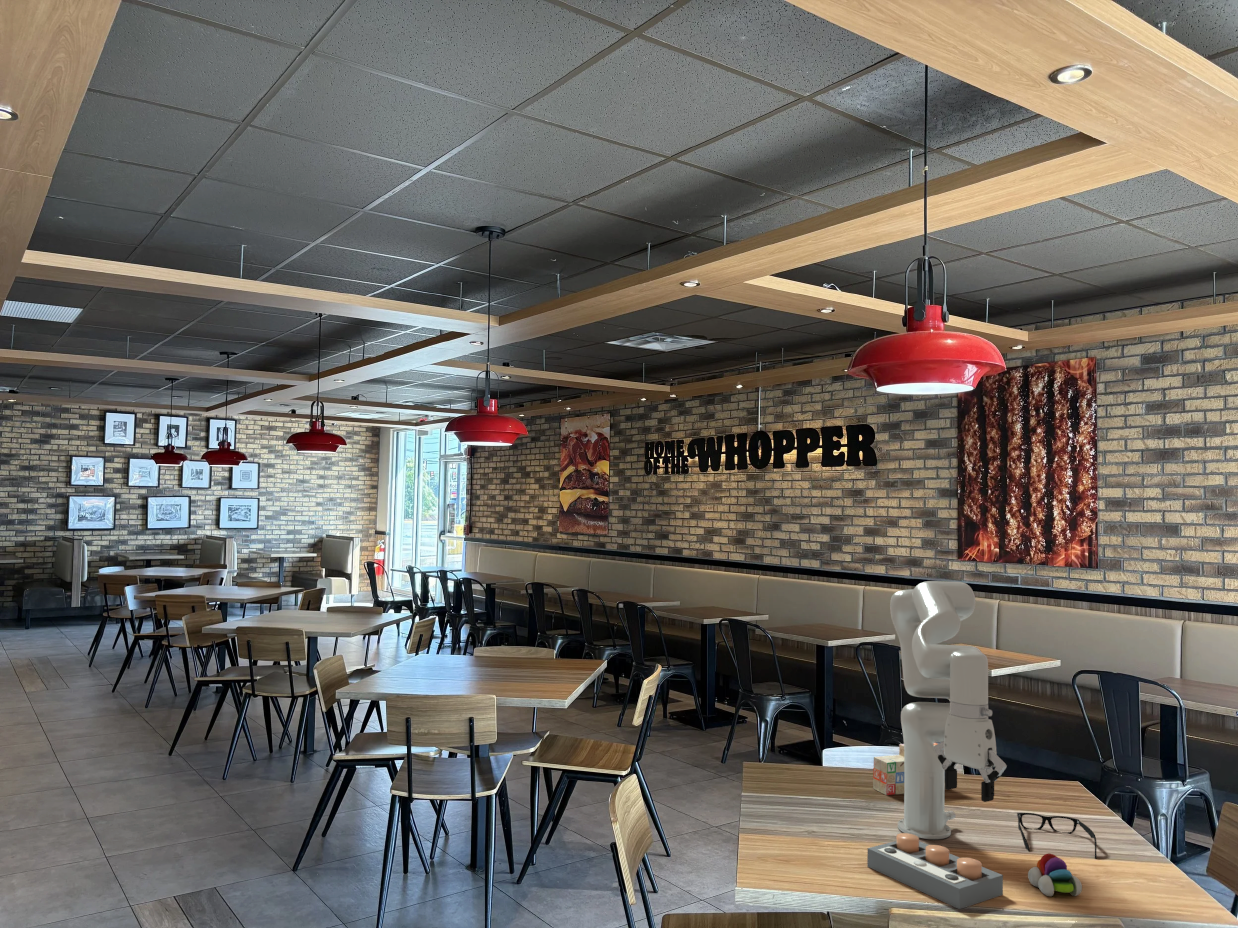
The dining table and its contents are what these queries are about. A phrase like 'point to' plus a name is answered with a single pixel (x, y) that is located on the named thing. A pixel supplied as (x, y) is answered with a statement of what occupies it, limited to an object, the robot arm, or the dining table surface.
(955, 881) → the button board
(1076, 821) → the glasses
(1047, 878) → the rainbow wheeled toy
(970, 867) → the button
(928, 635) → the robot arm
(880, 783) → the stack of blocks
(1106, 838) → the dining table surface
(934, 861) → the button
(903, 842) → the button
